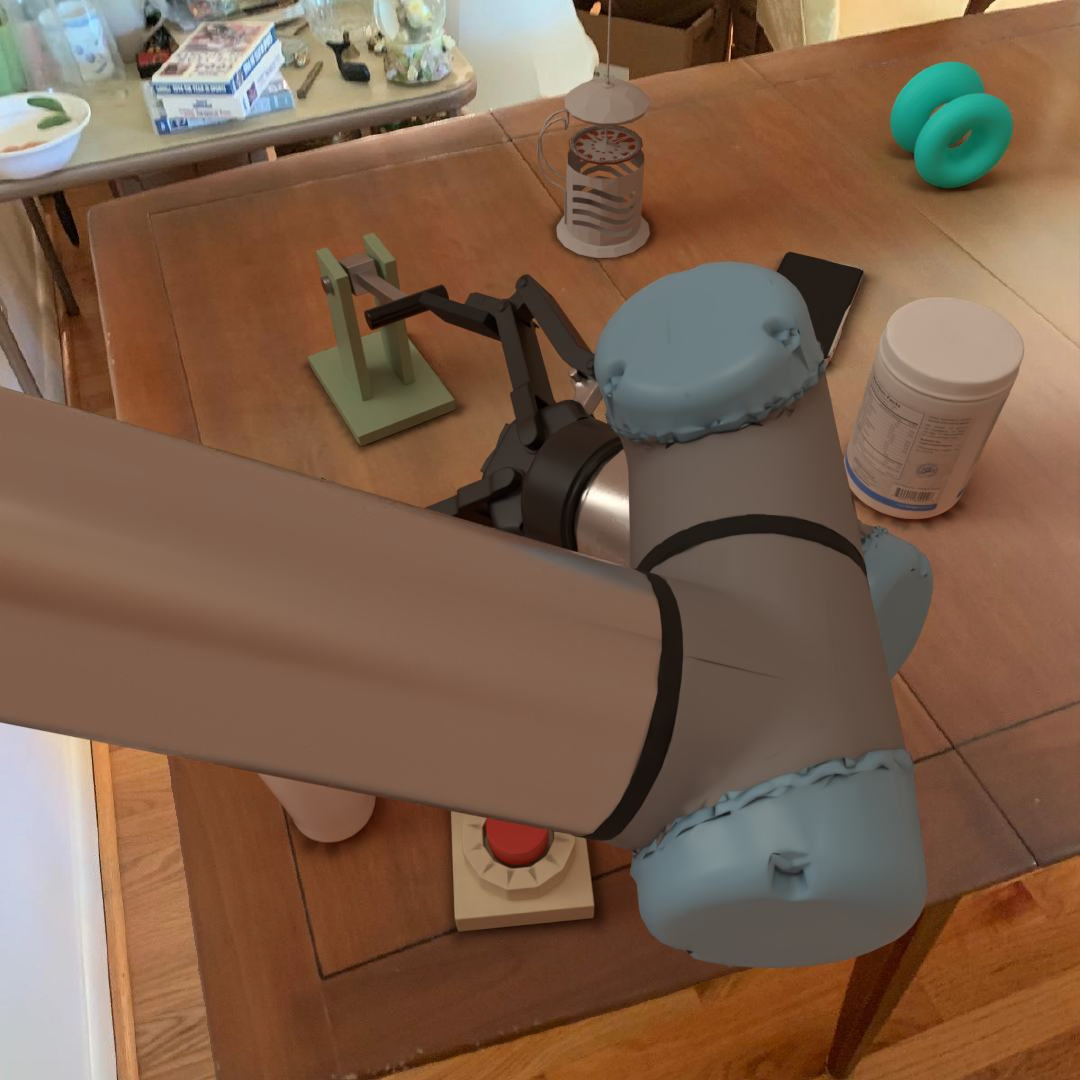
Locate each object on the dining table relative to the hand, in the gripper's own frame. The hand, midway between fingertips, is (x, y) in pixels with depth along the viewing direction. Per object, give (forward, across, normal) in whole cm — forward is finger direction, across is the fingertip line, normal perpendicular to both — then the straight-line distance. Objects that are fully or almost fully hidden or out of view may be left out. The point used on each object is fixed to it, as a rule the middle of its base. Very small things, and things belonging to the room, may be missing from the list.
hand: (384, 398), depth 63 cm
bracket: (+20, +2, -14) cm, 24 cm away
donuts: (+4, +54, -54) cm, 77 cm away
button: (-20, -19, -8) cm, 29 cm away
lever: (+11, +7, -5) cm, 14 cm away
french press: (+23, +28, -31) cm, 48 cm away
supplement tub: (-18, +15, -35) cm, 42 cm away
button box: (-19, -21, -11) cm, 30 cm away
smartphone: (0, +28, -38) cm, 47 cm away
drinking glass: (-8, -24, -6) cm, 26 cm away
